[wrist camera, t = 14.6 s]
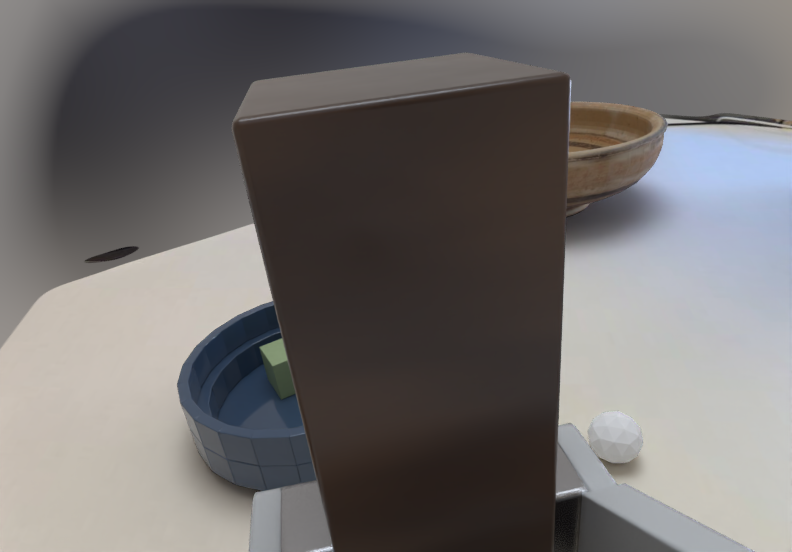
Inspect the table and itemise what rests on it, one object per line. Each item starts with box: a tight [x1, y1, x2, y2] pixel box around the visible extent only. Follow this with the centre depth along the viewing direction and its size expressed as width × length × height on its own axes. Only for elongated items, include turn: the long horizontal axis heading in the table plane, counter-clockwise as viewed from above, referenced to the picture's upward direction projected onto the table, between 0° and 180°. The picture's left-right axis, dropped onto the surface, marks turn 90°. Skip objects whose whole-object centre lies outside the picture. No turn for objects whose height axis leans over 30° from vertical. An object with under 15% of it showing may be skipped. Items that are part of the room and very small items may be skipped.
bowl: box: [177, 301, 316, 491], centre depth 37 cm, size 16×16×5 cm
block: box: [259, 338, 296, 400], centre depth 40 cm, size 3×3×3 cm
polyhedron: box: [588, 411, 643, 463], centre depth 31 cm, size 3×3×3 cm
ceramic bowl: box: [566, 102, 668, 217], centre depth 68 cm, size 37×28×10 cm
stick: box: [232, 53, 571, 552], centre depth 10 cm, size 3×3×16 cm
